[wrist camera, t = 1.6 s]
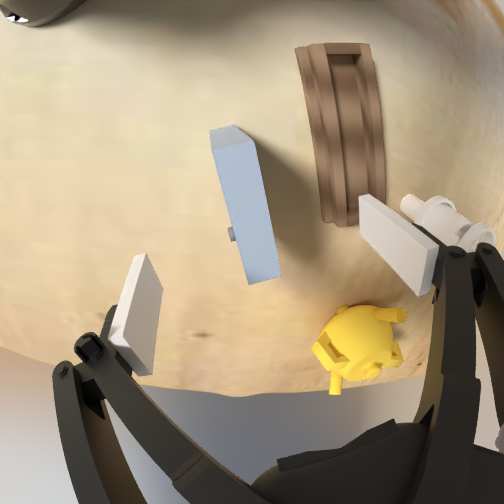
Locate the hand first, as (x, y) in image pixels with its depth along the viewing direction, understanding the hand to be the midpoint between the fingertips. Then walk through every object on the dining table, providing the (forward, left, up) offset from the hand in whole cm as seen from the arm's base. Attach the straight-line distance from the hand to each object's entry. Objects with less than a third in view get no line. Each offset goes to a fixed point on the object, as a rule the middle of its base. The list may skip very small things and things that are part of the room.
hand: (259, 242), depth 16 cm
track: (-2, +13, -14) cm, 19 cm away
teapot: (+28, +12, -15) cm, 34 cm away
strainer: (+9, +22, -15) cm, 28 cm away
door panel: (0, 0, -14) cm, 14 cm away
